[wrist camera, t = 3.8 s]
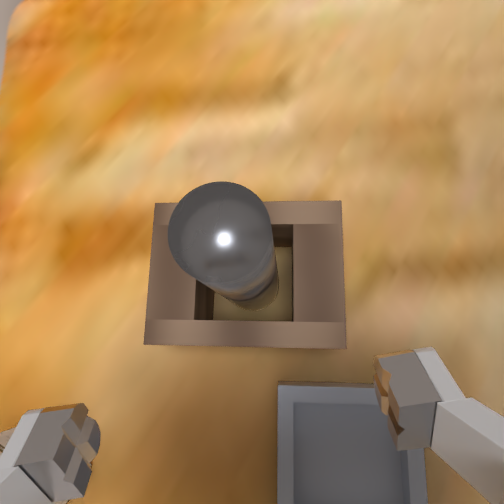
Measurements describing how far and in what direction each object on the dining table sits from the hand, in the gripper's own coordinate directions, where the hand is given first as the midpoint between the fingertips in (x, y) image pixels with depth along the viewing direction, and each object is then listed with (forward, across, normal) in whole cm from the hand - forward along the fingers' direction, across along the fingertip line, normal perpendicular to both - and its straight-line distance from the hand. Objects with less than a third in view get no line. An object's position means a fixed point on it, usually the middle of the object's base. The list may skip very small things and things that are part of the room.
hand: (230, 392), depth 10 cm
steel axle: (+16, 0, +8) cm, 18 cm away
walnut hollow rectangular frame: (+16, 0, +8) cm, 18 cm away
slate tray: (+8, -4, +17) cm, 19 cm away
